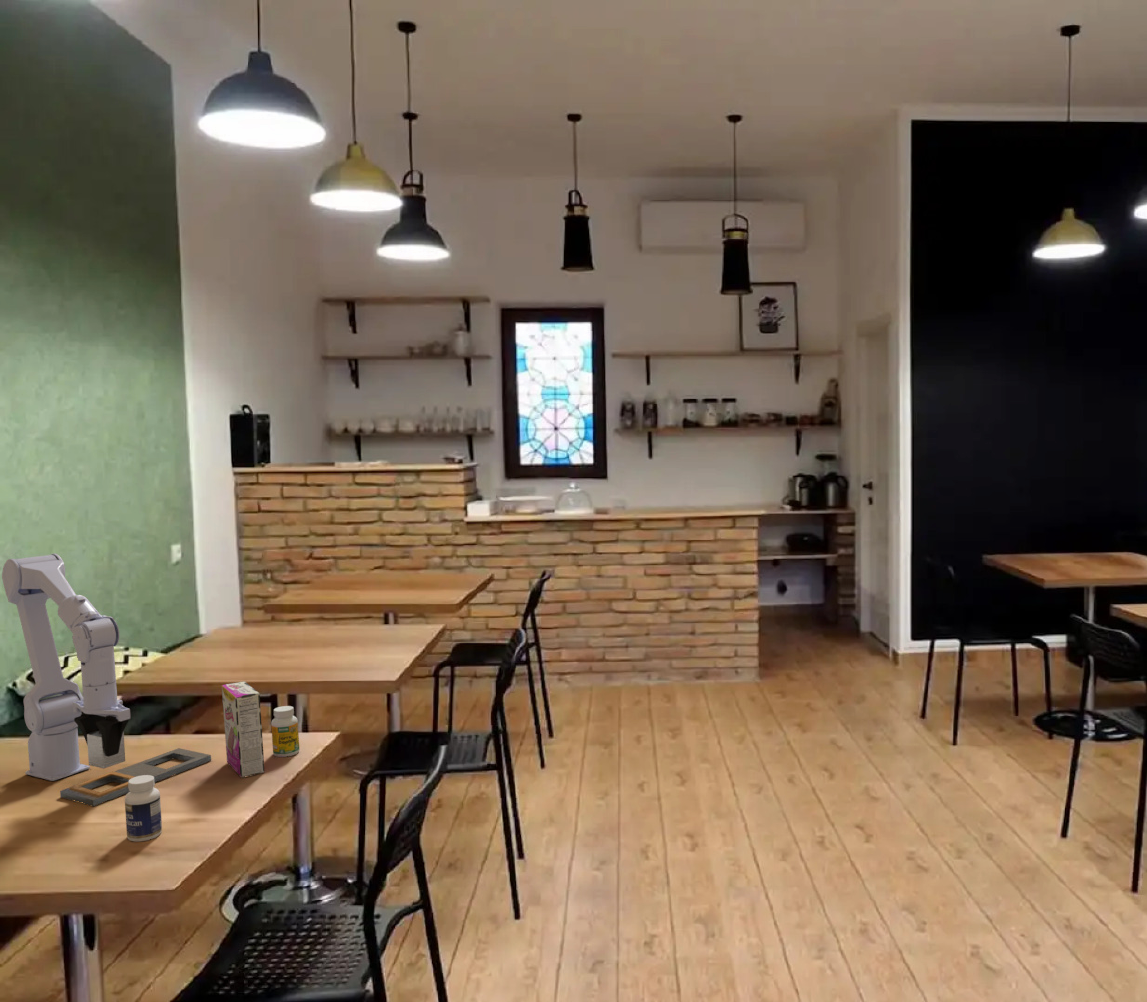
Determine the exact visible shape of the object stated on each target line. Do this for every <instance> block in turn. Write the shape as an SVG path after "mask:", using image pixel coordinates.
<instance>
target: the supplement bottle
mask: <svg viewBox="0 0 1147 1002" xmlns="http://www.w3.org/2000/svg"><path fill="white" fill-rule="evenodd" d="M294 710H295V709H294V706H291V705H283V706H278V707H275V708H274V709H273V716H274V718H273V719H272V720H271V722H270V723H271V724H270V725H271V726H270V727H271V728H270V729H271V739H272V740H271V741H272V754H273V755H274V756H275V757H277V758H287V756H288V757H292V756H295V755H297V754H298V753H299V752H300V738H299V722H298V718H297V717H296V716H295V715H294V714H295V711H294Z"/></svg>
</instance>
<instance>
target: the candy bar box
mask: <svg viewBox="0 0 1147 1002" xmlns="http://www.w3.org/2000/svg"><path fill="white" fill-rule="evenodd" d="M221 696H222V709H223V710H222V711H223V721H224V735H225V736H224V737H225V750H226V763H227V764H228V765H229V766H230V767H231V768H232V769H233V770H234V772H235V773H237V775H238V776H239V775H240V776H239V777H240V778H241V777H243V778H246V777H245V776H249V777H251V776H250V775H253V776H255V775H254V774H257V775H260V774H263V773H265V772H266V771H265V757H264V743H263V740H264V739H263V727H262V725H263V724H262V713H261V712H262V711H261V698H260V697H261V694H260V692H259V691H258V690H256V689H255V688H253V687H252V686H251V685H250V684H248V682H246V681H237V682H231V683H226V684H222V685H221Z"/></svg>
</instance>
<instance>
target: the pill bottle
mask: <svg viewBox="0 0 1147 1002" xmlns="http://www.w3.org/2000/svg"><path fill="white" fill-rule="evenodd" d="M155 783H156V782H155ZM155 783H154V777H153V776H151V775H142V776H137V777H134V778H132V779H130V780H129V781H128V788H129V791H130V792H129V793H127V794H125V797H124V808H125V810H124V811H125V824H126V825H125V827H126V838H127V840H128V841H131V842H146V841H151V840H153V839H155V838H157V837H158V836H160V835H161V833H162V831H163V825H162V823H163V821H162V807H161V793H160V790H159V789H158V788H156V787H155ZM150 839H151V840H150Z"/></svg>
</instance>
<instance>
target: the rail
mask: <svg viewBox="0 0 1147 1002" xmlns="http://www.w3.org/2000/svg"><path fill="white" fill-rule="evenodd" d="M171 760H179V761H184V762H181V763H179V764H176V765H173V766H171V767H168V768H164V767H159V766H157V765H156V764H158V765H159V763H160V764H163V763H166V762H168V761H171ZM165 761H166V762H165ZM208 761H209V762H212V755H211V754H208V753H207V754H206V753H203V752H199V751H194V750H189V749H185V748H181V747H180V748H179V747H178V748H175V749H173V750H170V751H168V752H165V753H162V754H158V755H156V756H153V757H151V758H148V759H145V760H143V761H140V762H137V763H134V764H131V765H129V766H125V767H123V768H121V769H117V770H115V771H111V772H108V773H104V774H102V775H99V776H96V777H94V778H91V779H88V780H85V781H83V782H80V783H78V784H73V785H72V786H69V787H67V788H64V789H62V790H60V791H59V795H60V798H61V799H66V800H69V801H72V800H75V801H74V802H76V801H79V802H83V803H85V804H84V805H87V804H88V805H87V806H90V805H92V806H91V807H96V806H98V805H101V804H103V803H102V802H104V801H106V802H108V801H107V800H109V801H110V800H111V801H112V800H113V799H116V798H119V797H121V796H124V795H127V794H128V793H129V792H130V791H129V788H128V781H129V780H130V779H132V778H134V777H137V776H142V775H151V776H153V777H154V783H157V781H158V782H160V781H163V780H165V779H168V778H170V776H171V777H173V776H175V775H174V774H176V775H179V774H181V773H183V772H186V771H189V770H191V769H193V768H195V767H199V766H201V765H204V764H206V762H207V763H209V762H208ZM162 762H163V763H162ZM203 763H204V764H203ZM198 765H199V766H198ZM188 769H189V770H188ZM172 775H173V776H172ZM167 777H168V778H167ZM162 779H163V780H162ZM111 782H114V783H117V784H119V785H116V786H114V787H111V788H109V789H106V790H103V791H97V790H93V789H95V788H98V787H101V786H103V785H105V784H109V783H111ZM92 788H93V789H92ZM79 802H78V803H79ZM83 803H82V804H83ZM100 803H101V804H100ZM104 803H105V802H104ZM97 804H98V805H97ZM95 805H96V806H95Z"/></svg>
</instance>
